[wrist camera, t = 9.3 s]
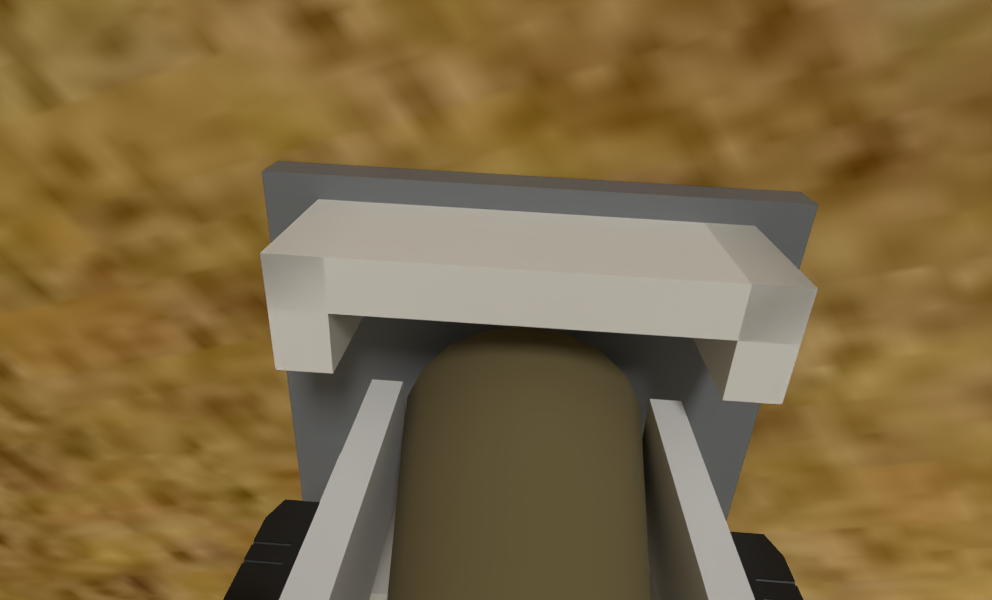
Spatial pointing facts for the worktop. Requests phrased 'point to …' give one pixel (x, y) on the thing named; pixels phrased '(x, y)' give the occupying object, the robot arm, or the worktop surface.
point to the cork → (521, 475)
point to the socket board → (531, 292)
